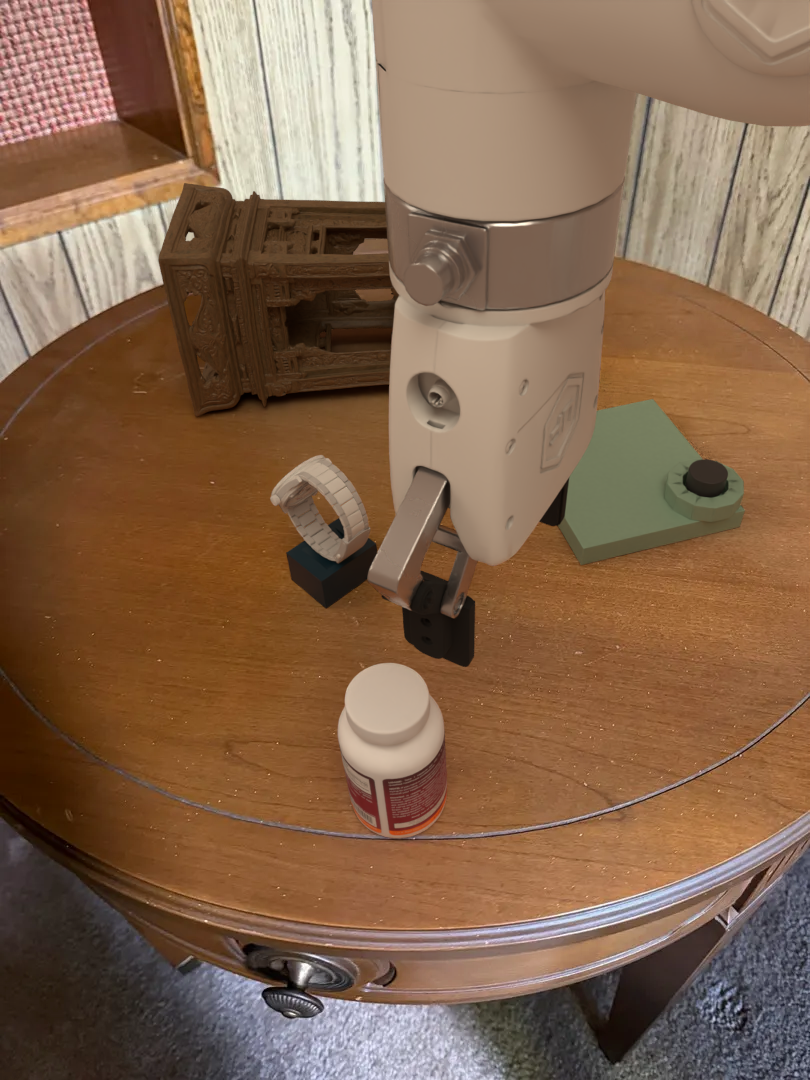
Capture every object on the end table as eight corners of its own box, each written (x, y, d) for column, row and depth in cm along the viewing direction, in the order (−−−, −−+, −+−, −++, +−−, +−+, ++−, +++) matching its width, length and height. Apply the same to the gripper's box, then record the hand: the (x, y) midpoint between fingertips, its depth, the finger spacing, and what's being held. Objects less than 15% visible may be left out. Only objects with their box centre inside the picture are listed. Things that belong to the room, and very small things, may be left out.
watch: (329, 532, 71) (312, 428, 64) (394, 582, 67) (385, 476, 59) (275, 567, 69) (252, 463, 61) (340, 621, 64) (323, 516, 57)
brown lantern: (527, 337, 96) (539, 164, 84) (553, 415, 82) (570, 218, 70) (216, 348, 96) (187, 175, 84) (188, 427, 81) (148, 232, 70)
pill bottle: (454, 759, 56) (452, 658, 48) (439, 849, 51) (435, 754, 44) (362, 746, 57) (346, 645, 49) (340, 833, 52) (318, 737, 45)
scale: (748, 529, 69) (758, 497, 67) (583, 569, 67) (587, 538, 65) (654, 414, 81) (660, 383, 78) (510, 444, 78) (512, 414, 76)
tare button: (731, 493, 68) (735, 478, 67) (697, 501, 67) (701, 486, 66) (711, 470, 70) (716, 455, 69) (678, 477, 69) (682, 463, 68)
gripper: (484, 397, 21) (476, 754, 33) (694, 151, 32) (630, 493, 44) (248, 327, 24) (319, 679, 36) (511, 122, 34) (498, 451, 47)
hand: (489, 577), depth 40 cm, fingers open, 9 cm apart
